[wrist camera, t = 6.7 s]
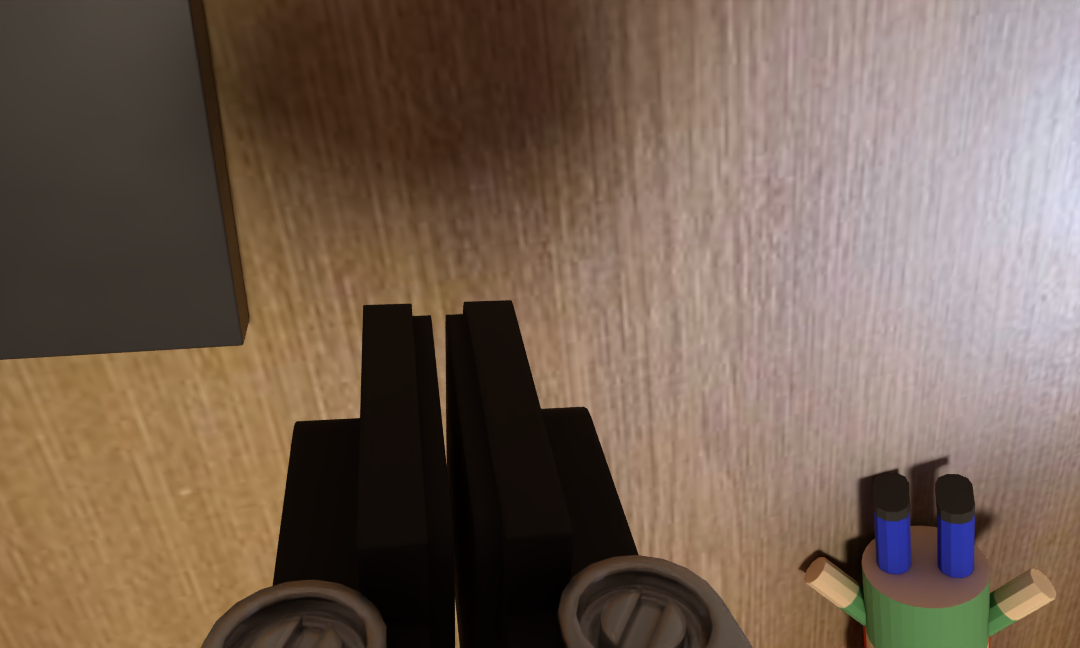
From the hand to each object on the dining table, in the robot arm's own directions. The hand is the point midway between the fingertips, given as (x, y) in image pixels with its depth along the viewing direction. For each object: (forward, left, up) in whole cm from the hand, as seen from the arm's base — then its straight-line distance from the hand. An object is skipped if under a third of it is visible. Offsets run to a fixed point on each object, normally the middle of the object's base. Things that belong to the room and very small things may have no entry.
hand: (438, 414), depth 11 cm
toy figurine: (+20, +17, -16) cm, 30 cm away
